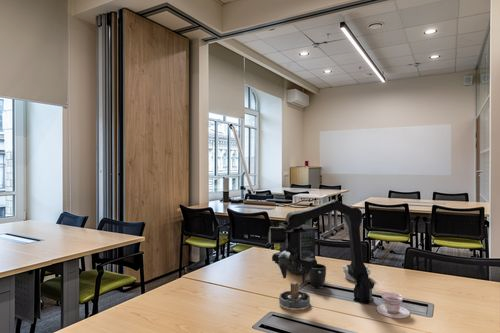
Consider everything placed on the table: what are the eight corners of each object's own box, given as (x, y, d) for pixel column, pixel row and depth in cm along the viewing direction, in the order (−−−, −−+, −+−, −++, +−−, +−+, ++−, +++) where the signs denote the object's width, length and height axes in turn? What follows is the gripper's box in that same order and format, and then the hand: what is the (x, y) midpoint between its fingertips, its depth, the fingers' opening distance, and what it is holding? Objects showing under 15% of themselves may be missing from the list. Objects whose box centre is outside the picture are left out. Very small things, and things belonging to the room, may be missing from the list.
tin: (315, 302, 141) (315, 295, 141) (299, 312, 131) (299, 304, 131) (290, 295, 149) (289, 288, 149) (273, 304, 139) (273, 297, 139)
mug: (310, 292, 152) (310, 271, 152) (307, 283, 164) (307, 263, 164) (329, 292, 152) (329, 271, 152) (324, 283, 164) (324, 263, 163)
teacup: (382, 303, 140) (382, 288, 140) (413, 311, 132) (413, 295, 132) (371, 313, 131) (371, 297, 131) (404, 322, 123) (404, 305, 123)
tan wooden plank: (298, 301, 141) (298, 282, 141) (294, 303, 138) (294, 284, 138) (294, 300, 142) (294, 281, 142) (290, 302, 139) (290, 283, 139)
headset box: (279, 263, 196) (278, 219, 196) (297, 261, 200) (297, 217, 199) (295, 275, 174) (295, 225, 174) (316, 273, 178) (316, 224, 178)
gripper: (264, 243, 140) (264, 281, 140) (303, 250, 128) (303, 291, 128) (279, 238, 148) (279, 274, 148) (317, 244, 136) (317, 283, 136)
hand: (294, 280), depth 140 cm, fingers open, 9 cm apart
